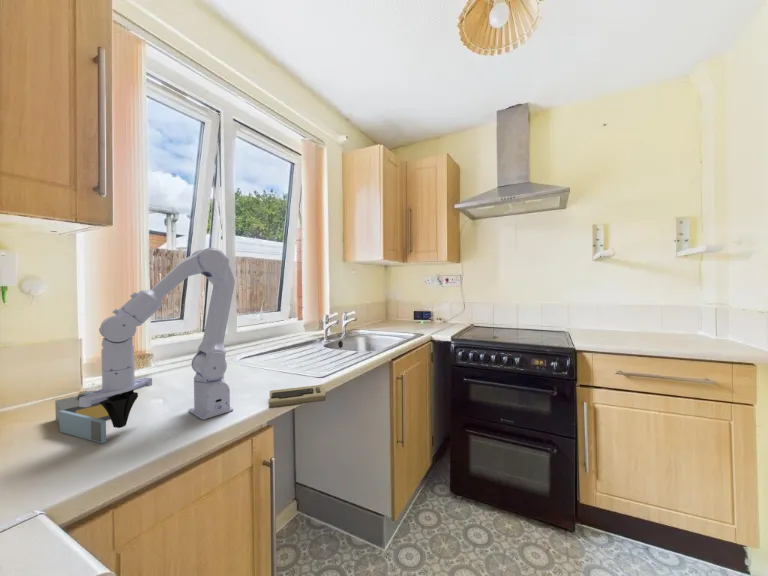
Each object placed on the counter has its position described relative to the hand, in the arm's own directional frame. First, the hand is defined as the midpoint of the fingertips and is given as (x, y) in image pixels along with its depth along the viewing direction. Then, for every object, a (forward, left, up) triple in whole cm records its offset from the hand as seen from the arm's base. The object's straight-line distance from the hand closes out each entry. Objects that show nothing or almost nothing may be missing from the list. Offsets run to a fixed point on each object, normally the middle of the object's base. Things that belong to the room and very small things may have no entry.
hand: (119, 426), depth 73 cm
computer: (-14, -39, -3) cm, 41 cm away
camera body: (+18, +2, -2) cm, 18 cm away
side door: (+5, +6, -2) cm, 8 cm away
